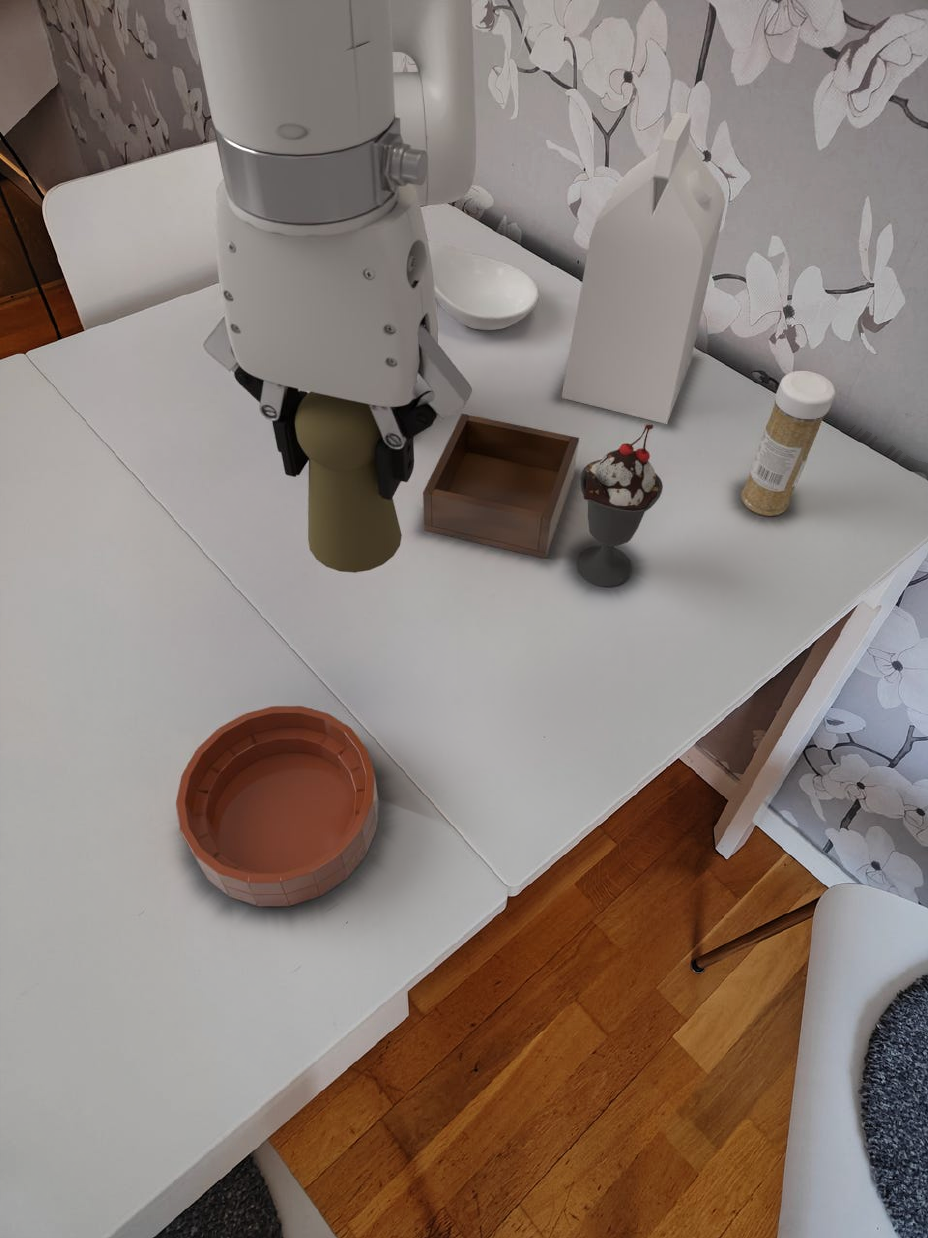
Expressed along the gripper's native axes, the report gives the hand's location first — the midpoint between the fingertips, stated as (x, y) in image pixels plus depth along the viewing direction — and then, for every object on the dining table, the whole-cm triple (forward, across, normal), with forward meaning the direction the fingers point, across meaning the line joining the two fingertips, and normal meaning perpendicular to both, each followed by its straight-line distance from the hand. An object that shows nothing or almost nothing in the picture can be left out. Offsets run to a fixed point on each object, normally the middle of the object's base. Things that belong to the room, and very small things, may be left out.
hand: (347, 469), depth 52 cm
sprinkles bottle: (+23, -28, -31) cm, 48 cm away
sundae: (+23, -15, -18) cm, 33 cm away
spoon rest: (+24, +12, -53) cm, 59 cm away
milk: (+24, -12, -46) cm, 53 cm away
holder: (+23, -4, -23) cm, 33 cm away
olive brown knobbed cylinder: (+6, 0, 0) cm, 6 cm away
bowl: (+23, +2, +13) cm, 26 cm away
